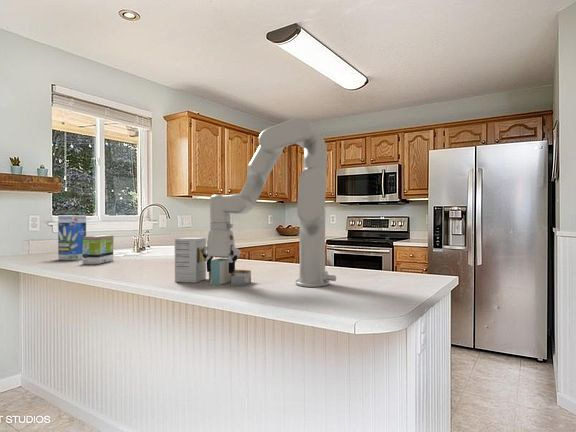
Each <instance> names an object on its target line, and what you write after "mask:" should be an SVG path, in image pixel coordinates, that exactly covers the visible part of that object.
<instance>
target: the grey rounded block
mask: <svg viewBox="0 0 576 432" xmlns="http://www.w3.org/2000/svg"><path fill="white" fill-rule="evenodd" d="M248 284H251V282H250V273H235V274H234V275H232V276H231V282H230V287H235V288H237V287H241V288H242V287H243V288H244V287H246V286H248Z"/></svg>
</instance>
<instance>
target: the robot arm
mask: <svg viewBox="0 0 576 432" xmlns="http://www.w3.org/2000/svg"><path fill="white" fill-rule="evenodd" d="M295 144H296V145H298V146H300V147H301V148H302V149H303V152H304V153H303V169H302V172H301V173H300V176H299V179H298V189H297V190H298V191H297V205H296V208H297V209H296V213H297V217H298V219H299V244H298V246H299V278H298V279H296V280H295V284H296V286H300V287H306V288H308V287H310V288H317V287H319V288H320V287H326V286H330V283H331V282H337V275H334V274H329V271H328V270H327V271H326V208H325V206H326V192H327V180H328V179H327V157H328V155H327V153H328V151H327V144H326V142H325V139H324V138H323V136H322V135H321V134H320V133H319V132H318V131H317V130H315V129H314V126H313V124H312V123H311V121H310V120H309V119H307V118H306V117H301V116H300V117H295V118H292V119H288V120H286V121H283V122H281V123H278V124H275V125H272V126H269V127H267V128H265V129H263V130H262V131H261V133H260V134H259V136H258V145H259V146H258V147H257V149H256V151H255V153H254V155H253V156H252V158H251V160H250V162H249V163H248V164H247V168H246V169H247V170H246V171H247V173H246V175H247V176H246V180H245V182H244V185H243V187H242V188H241V190H240V192H239V193H233V194H212V195H211V196H210V198H209V202H210V203H209V209H210V211H209V219H210V220H209V222H210V223H209V228H210V230H209V231H208V235H207V241H206V247H205V248H203V249H201V252H202V254H203V257H204V258H205V261H206V273H207V272H208V273H209V272H210V271H211V260H214V258H228V260H229V261H230V263H229V273H233V272H234V271H235V269H236V262H237V260H238V259H239V258H240V255H241V253H242V251H241V250H240V249H239V248H237V247H236V246H235V237H234V232H233V230H231V229H232V228H234V224H232V223H231V214H234V215H235V214H236V215H239V214H240V215H241V214H247V213H249V212H250V211H252V209H253V208H254V206H255V205H256V203H257V201H258V199H259V197H261V196H260V195H261V193H262V191H263V190H264V189H263V188H264V187H265V185H266V183H267V180H268V178H269V176H270V174H271V172H272V170H273V168H274V167H275V165H276V163H277V161H278V160H279V158H280V156H281V154H282V152H283V150H284V148H285V147H288V146H292V145H295ZM330 281H331V282H330Z"/></svg>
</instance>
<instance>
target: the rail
mask: <svg viewBox="0 0 576 432" xmlns="http://www.w3.org/2000/svg"><path fill="white" fill-rule="evenodd" d="M235 273H250V283H251V282H252V271H251V269H250V270H249V269H236V268H235V271H234V272H233V273H232V275H234V274H235ZM208 280H210V281H211V271H210V272H208Z"/></svg>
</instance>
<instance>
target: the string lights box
mask: <svg viewBox="0 0 576 432" xmlns="http://www.w3.org/2000/svg"><path fill="white" fill-rule="evenodd" d="M57 219H58V220H57V221H58V222H57V224H58V226H57V229H58V230H57V231H58V232H57V235H58V236H57V237H58V238H57V243H58V250H57V251H58V253H57V254H58V256H57V257H58V260H64V261H68V260H69V261H79V260H80V261H81V260H82V257H83V237H84V236H87V216H86V215H69V214H68V215H58V217H57Z"/></svg>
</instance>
